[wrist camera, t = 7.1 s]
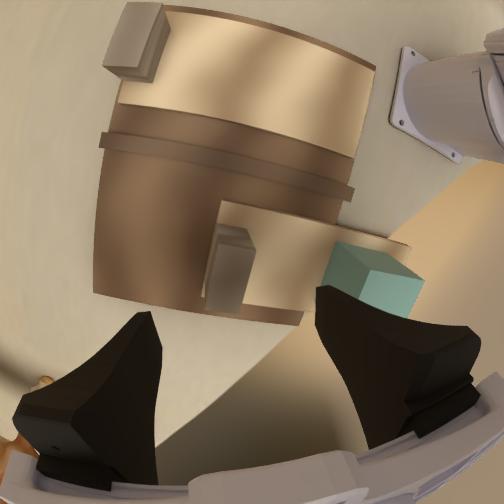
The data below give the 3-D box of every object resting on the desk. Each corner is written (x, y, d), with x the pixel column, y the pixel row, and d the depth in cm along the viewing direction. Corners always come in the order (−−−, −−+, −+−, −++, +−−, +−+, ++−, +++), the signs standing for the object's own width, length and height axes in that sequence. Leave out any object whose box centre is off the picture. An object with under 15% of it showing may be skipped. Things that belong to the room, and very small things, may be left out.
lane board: (370, 68, 17) (384, 63, 15) (296, 320, 24) (302, 334, 22) (151, 8, 13) (147, -4, 11) (96, 287, 20) (88, 300, 18)
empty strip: (369, 73, 16) (408, 61, 12) (349, 157, 18) (387, 164, 14) (151, 14, 13) (137, -18, 8) (121, 104, 15) (93, 92, 10)
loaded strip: (406, 244, 22) (441, 266, 17) (377, 313, 24) (403, 344, 20) (221, 198, 18) (225, 215, 14) (201, 291, 20) (200, 330, 16)
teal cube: (387, 253, 21) (424, 280, 16) (364, 307, 22) (394, 341, 18) (335, 240, 20) (370, 269, 15) (314, 301, 21) (339, 340, 17)
